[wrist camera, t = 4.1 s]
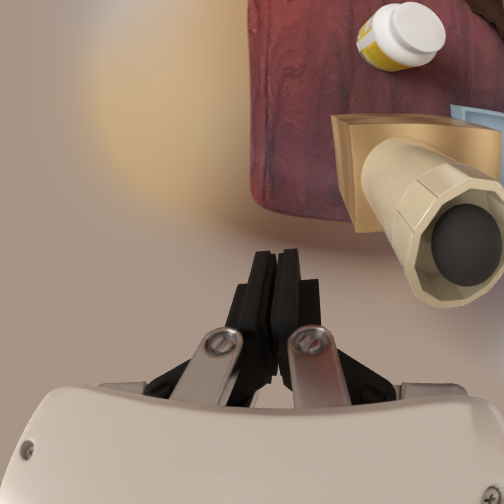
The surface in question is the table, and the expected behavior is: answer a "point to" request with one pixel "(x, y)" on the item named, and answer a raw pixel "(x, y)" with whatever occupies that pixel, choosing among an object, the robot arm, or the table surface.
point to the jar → (426, 210)
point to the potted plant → (490, 12)
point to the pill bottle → (401, 37)
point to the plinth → (412, 126)
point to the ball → (466, 245)
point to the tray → (483, 124)
